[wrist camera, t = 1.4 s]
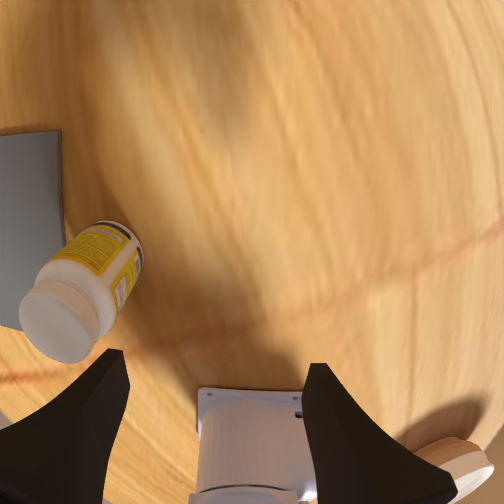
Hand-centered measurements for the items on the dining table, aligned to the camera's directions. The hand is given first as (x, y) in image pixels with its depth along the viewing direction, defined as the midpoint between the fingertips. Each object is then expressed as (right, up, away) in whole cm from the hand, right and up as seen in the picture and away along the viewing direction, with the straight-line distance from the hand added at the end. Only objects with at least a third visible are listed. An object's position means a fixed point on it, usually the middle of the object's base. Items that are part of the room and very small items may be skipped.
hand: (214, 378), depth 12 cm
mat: (-16, +5, +7) cm, 18 cm away
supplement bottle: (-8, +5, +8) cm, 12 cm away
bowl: (+27, -25, +22) cm, 43 cm away
